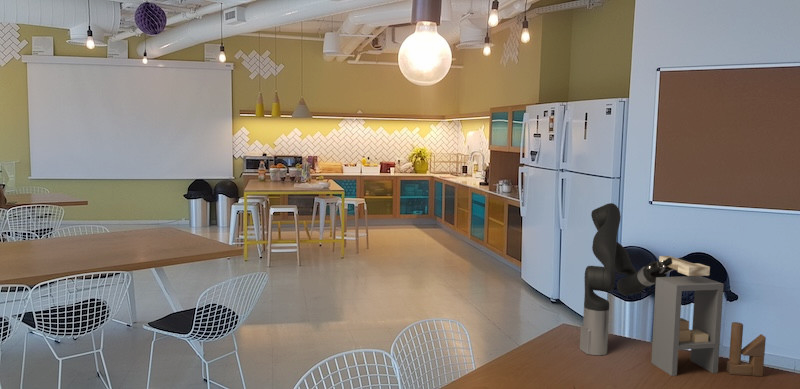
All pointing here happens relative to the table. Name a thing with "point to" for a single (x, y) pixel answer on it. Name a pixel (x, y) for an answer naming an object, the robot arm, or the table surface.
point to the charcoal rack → (687, 323)
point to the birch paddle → (687, 267)
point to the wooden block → (745, 353)
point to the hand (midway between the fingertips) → (676, 260)
